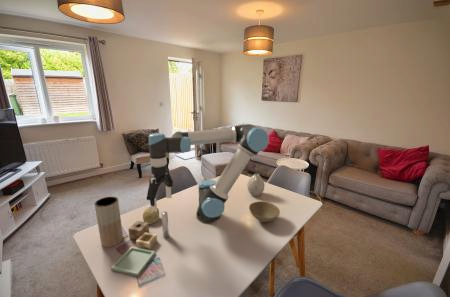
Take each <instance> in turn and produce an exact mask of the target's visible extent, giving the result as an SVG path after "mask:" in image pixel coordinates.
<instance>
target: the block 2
mask: <svg viewBox="0 0 450 297" xmlns="http://www.w3.org/2000/svg"><path fill="white" fill-rule="evenodd" d="M157 242H158V236H157V234H156V233H151V232H149V233H147V232H144V233H143V234H142V235H141V236H140V237H139V238H138V239H137V240H135V245H136V246H135V247H138V248H143V249H147V250H152V248H153V247H154V246H155V245H156V243H157Z"/></svg>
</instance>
